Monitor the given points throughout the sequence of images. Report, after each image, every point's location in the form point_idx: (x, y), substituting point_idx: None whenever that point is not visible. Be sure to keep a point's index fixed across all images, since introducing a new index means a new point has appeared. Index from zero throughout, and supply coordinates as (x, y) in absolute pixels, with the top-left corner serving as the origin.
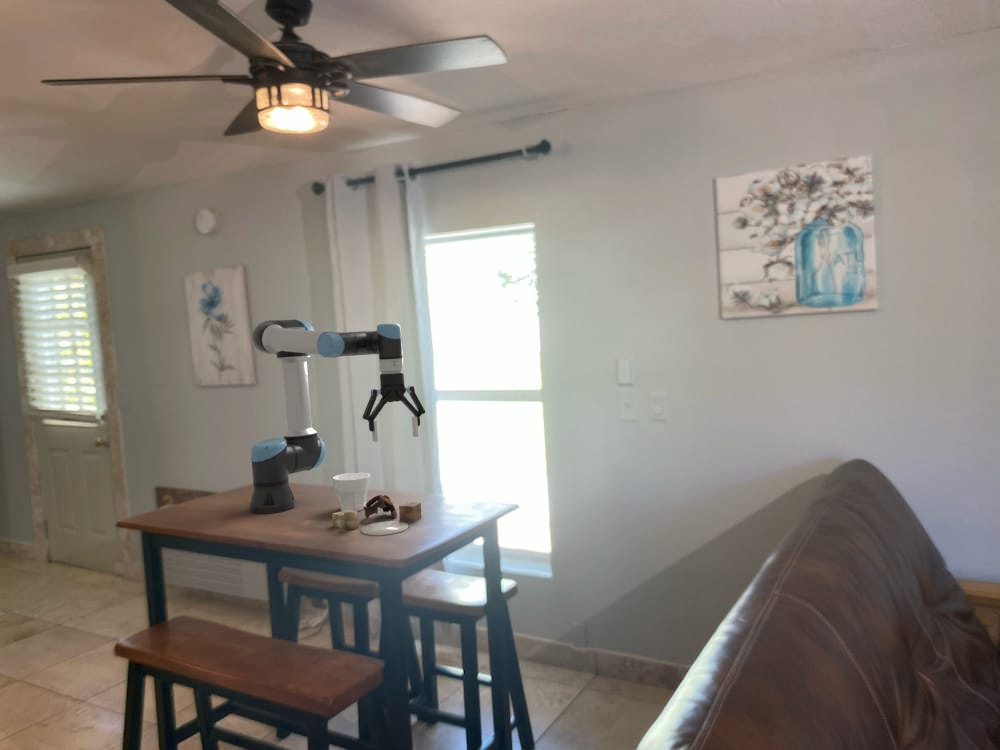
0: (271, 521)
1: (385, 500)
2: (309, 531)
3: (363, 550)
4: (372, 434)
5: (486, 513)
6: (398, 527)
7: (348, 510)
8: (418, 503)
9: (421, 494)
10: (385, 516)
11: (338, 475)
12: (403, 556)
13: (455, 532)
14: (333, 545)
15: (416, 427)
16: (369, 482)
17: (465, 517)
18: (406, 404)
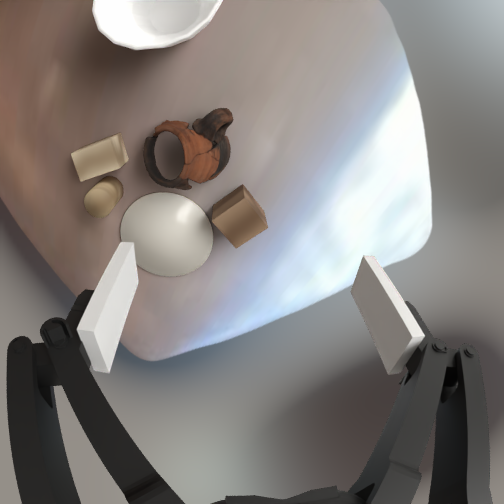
0: (7, 43)
1: (193, 178)
2: (42, 161)
3: None
4: (109, 266)
5: None
6: (188, 254)
7: (106, 147)
8: (259, 231)
9: (385, 16)
10: None
11: None
12: (152, 356)
13: (257, 322)
14: (71, 269)
15: (371, 325)
16: (215, 12)
17: (327, 263)
18: (370, 458)
